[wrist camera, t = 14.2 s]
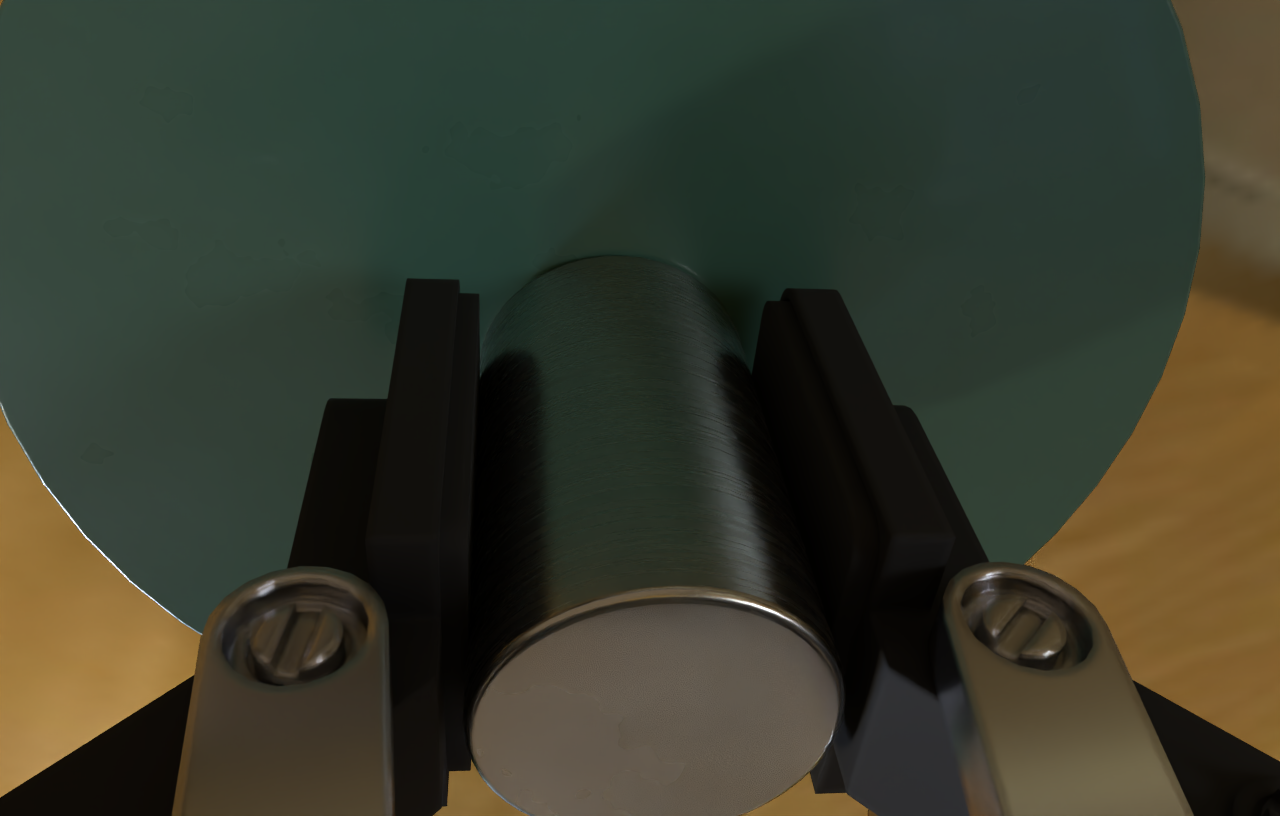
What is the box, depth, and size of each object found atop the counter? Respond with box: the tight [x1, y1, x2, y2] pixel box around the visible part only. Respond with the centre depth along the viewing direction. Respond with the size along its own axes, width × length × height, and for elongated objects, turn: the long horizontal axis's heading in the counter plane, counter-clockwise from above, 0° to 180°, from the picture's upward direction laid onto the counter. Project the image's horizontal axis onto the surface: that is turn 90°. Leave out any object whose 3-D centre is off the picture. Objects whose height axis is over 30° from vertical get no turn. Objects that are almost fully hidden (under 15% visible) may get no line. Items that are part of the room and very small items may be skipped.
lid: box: [0, 0, 1205, 816], centre depth 11 cm, size 14×14×6 cm
